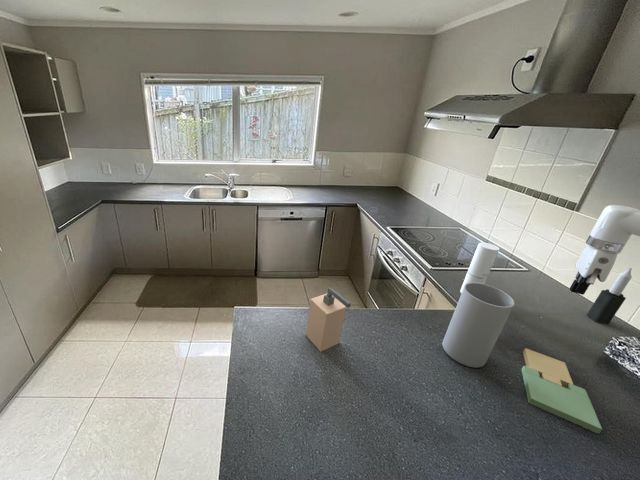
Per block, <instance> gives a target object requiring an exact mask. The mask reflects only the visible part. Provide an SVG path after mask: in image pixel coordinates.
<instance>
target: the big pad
mask: <svg viewBox="0 0 640 480" xmlns="http://www.w3.org/2000/svg"><path fill="white" fill-rule="evenodd" d="M521 375H522V379H523V384H524V389H525V393H526V397H527V403H528V404H530V405H532V406H534V407H537V408H539V409H541V410H543V411H545V412H548V413H550V414H552V415H554V416H557V417H559V418H561V419H563V418H564V420H566V421H568V420H569V421H568V422H570V421H571V422H570V423H572V422H573V423H572V424H574V425H577V424H578V425H577V426H579V425H580V426H579V427H581V426H582V428H584V429H586V430H588V429H589V431H590V430H591V431H590V432H593V433H595V434H597V433H598V434H597V435H599V434H600V433H601V432H602V431H603V428H602V425H601V423H600V421H599V418H598V416H597V414H596V411H595V409H594V406H593V404H592V402H591V399H590V397H589V394H588V393H587V389H586V388H582V387H580V386H578V385H575V384H574V383H573V384H570V383H569V384H568V386H567V387H564V386H560V385H557V384H555V383H552V382H550V381H547V380H545V379H542V378H540V376H539V372H538V371H537V370H535V369H532V368H529V367H527V366H526V365H523V366H522V368H521Z"/></svg>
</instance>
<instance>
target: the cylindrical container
mask: <svg viewBox="0 0 640 480" xmlns="http://www.w3.org/2000/svg"><path fill="white" fill-rule="evenodd" d="M499 252H500V247H499V246H497V245H495V244H493V243H489V242H483V241H482V242H478V244H477V247H476V250H475V251H474V254H473V257H472V259H471V261H470V264H469V267H468V269H467V272H466V275H465V277H464V280H463V282H462V285H461V287H460V290H459V292H460V295H461V294H462V291H463V289H464V286H465V284H467V283H482V284H486V282H487V279H488V277H489V275H490V272H491V270H492V267H493V266H494V263H495V260H496V258H497V256H498V253H499Z"/></svg>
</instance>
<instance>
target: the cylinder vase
mask: <svg viewBox="0 0 640 480" xmlns="http://www.w3.org/2000/svg"><path fill="white" fill-rule="evenodd" d="M515 304H516V303H515V300H514V299H513V297H512V296H510V295H509V294H508V293H506V292H505V291H503V290H501V289H499V288H497V287H495V286H492V285H489V284H486V283H485V284H482V283H467V284H465V286H464V289H463V291H462V294H461V293H460V297H459V299H458V301H457V305H456V306H455V309H454V312H453V314H452V317H451V318H450V319H451V320H450V321H449V324H448V327H447V329H446V332H445V335H444V338H443V340H442V348H443V350H444V352H445V353H446V354H447V355H448V356H449V357H450V358H451V359H452V360H454V361H455V362H456V363H459V364H461V365H463V366H466V367H469V368H482V367H485V364H486V363H487V361H488V359H489V357H490V355H491V353H492V351H493V349H494V347H495V345H496V343H497V341H498V339H499V336H500V335H501V332H502V330H503V329H504V326H505V324H506V322H507V320H508V318H509V317H510V314H511V313H512V310H513V309H514V306H515Z"/></svg>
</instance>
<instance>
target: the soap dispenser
mask: <svg viewBox="0 0 640 480" xmlns="http://www.w3.org/2000/svg"><path fill="white" fill-rule="evenodd" d="M351 305H352V303H351V302H350V301H349V300H348V299H346V298H345V297H344V296H343V295H341V294H340V293H339V292H338V291H337V290H335V289H334V288H333V287H328V289H327V293H324V294H321V295H317V296H315V297H312V298H310V302H309V307H308V315H307V322H306V330H305V336H306V337H307V338H308V339H309V341H311V343H312V344H313V345H314V347H316V348H317V350H318V351H319V352H320V353H321V352H323V351H326V350H328V349H330V348H333V347H334V346H337V345H338V344H340V341H341V337H342V332H343V331H342V330H343V327H344V320H345V316H346V311H347V309H349V308H351Z"/></svg>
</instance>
